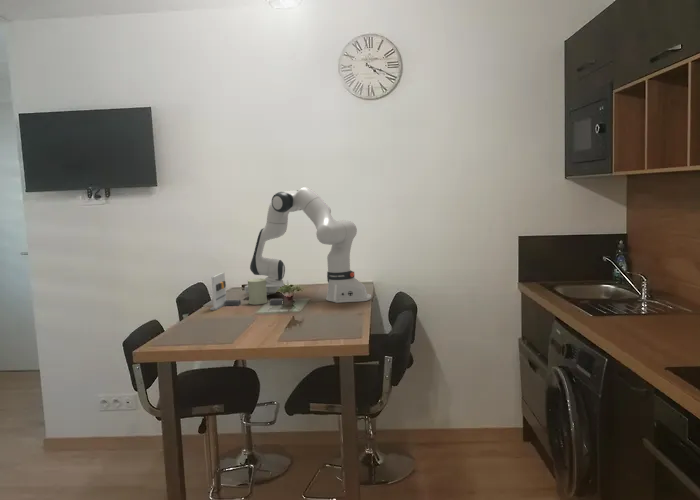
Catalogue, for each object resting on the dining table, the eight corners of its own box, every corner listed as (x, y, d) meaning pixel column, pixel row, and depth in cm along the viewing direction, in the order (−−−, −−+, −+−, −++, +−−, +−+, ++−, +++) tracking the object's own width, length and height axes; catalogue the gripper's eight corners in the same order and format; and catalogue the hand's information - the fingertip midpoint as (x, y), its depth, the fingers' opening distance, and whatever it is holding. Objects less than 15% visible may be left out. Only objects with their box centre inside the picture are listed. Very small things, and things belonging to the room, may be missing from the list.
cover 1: (240, 304, 291) (240, 299, 290) (238, 305, 288) (238, 300, 287) (227, 304, 292) (226, 299, 291) (225, 305, 289) (224, 300, 289)
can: (265, 304, 288) (264, 280, 287) (247, 305, 288) (245, 281, 287) (268, 300, 297) (267, 277, 296) (250, 301, 298) (249, 277, 296)
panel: (228, 303, 293) (226, 272, 291) (218, 310, 279) (215, 277, 278) (220, 304, 294) (218, 272, 292) (210, 310, 280) (207, 277, 278)
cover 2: (283, 303, 287) (283, 298, 287) (282, 304, 285) (281, 299, 284) (271, 303, 288) (271, 298, 288) (270, 305, 285) (269, 299, 285)
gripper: (248, 280, 311) (240, 285, 298) (285, 279, 308) (279, 284, 295) (249, 292, 312) (241, 297, 298) (286, 291, 309) (279, 296, 295)
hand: (260, 291), depth 296 cm, fingers closed
